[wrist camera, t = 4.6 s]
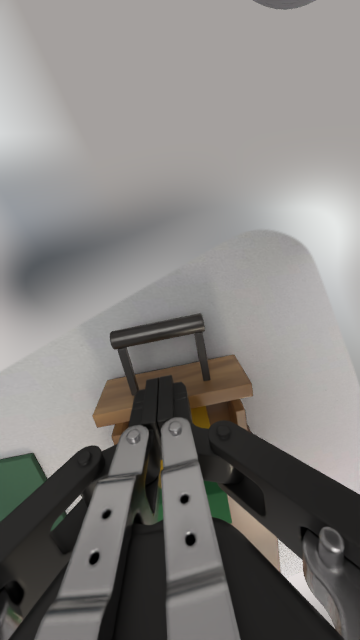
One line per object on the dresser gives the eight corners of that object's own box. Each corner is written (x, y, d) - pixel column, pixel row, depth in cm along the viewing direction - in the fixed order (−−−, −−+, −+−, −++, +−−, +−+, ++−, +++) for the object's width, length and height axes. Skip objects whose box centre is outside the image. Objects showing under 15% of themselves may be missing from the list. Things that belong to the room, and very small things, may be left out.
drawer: (87, 325, 20) (65, 349, 16) (226, 297, 20) (244, 313, 16) (145, 491, 27) (141, 541, 23) (249, 470, 27) (266, 516, 23)
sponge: (151, 405, 22) (142, 507, 14) (203, 395, 22) (226, 491, 14) (158, 429, 23) (154, 539, 15) (207, 419, 23) (232, 523, 15)
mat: (-73, 474, 26) (-79, 479, 25) (33, 452, 26) (30, 457, 25) (-15, 550, 30) (-18, 556, 30) (76, 532, 30) (74, 538, 30)
